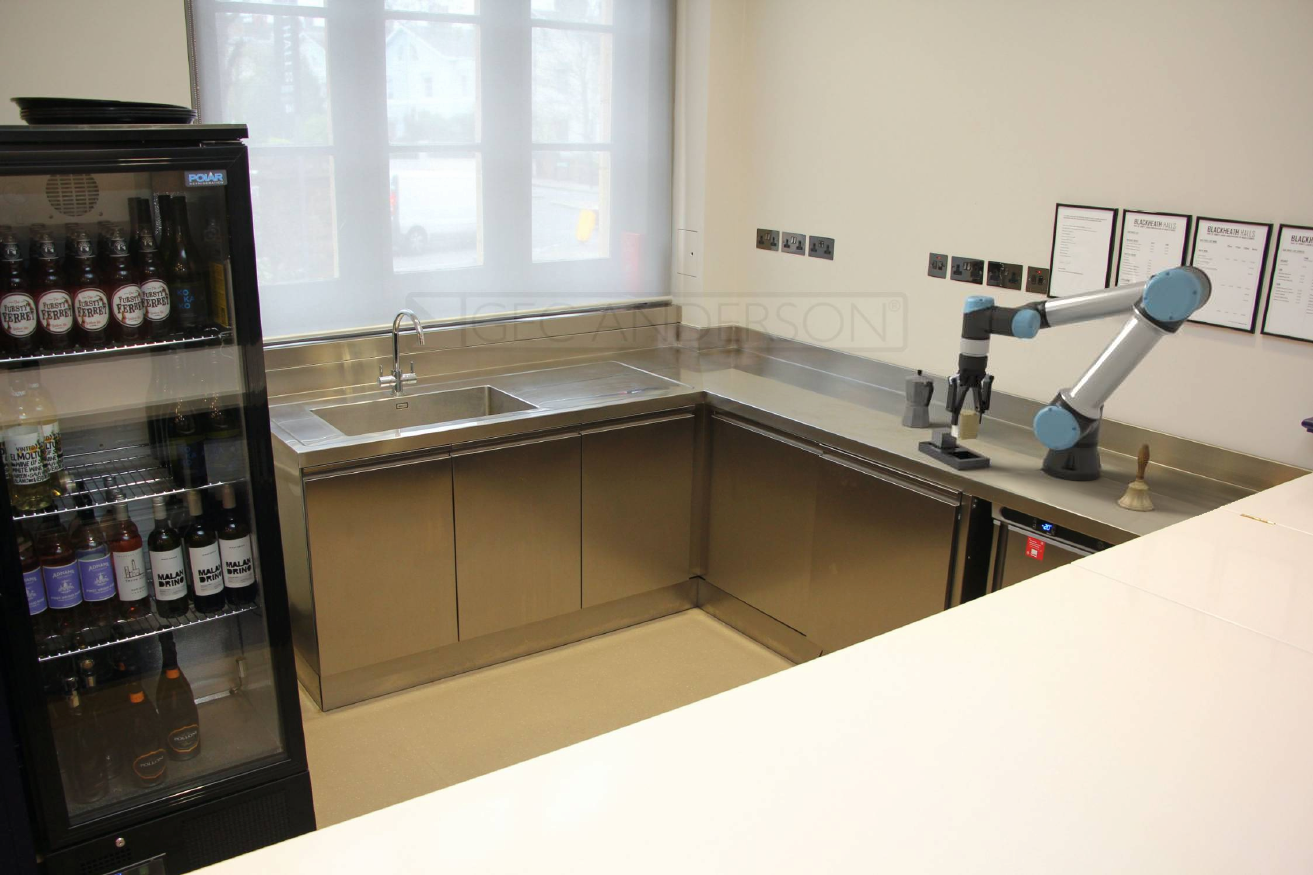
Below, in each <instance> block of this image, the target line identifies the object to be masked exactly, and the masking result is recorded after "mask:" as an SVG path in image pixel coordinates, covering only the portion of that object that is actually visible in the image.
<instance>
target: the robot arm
mask: <svg viewBox="0 0 1313 875" xmlns="http://www.w3.org/2000/svg"><path fill="white" fill-rule="evenodd" d="M1212 292H1213V284H1212V281H1211V278H1210V277H1209V275H1208V273H1207V272H1205V271H1204V270H1203V269H1201V268H1199V267H1196V266H1193V265H1182V266H1181V265H1180V266H1177V267H1174V268H1170V269H1169V268H1168V269H1165V270H1163V271H1161V272H1159V273H1158V274H1152V275H1150V276H1149V277H1148V279H1147V280H1142V281H1136V282H1132V283H1127V284H1122V285H1117V286H1112V287H1107V288H1106V287H1105V288H1101V289H1096V290H1091V291H1085V292H1080V293H1075V294H1069V295H1065V296H1059V297H1055V298H1049V299H1046V300H1039V301H1037V300H1036V301H1035V300H1034V301H1031V302H1027V303H1026V304H1023V305H1019V306H1016V307H1006V306H1000V305H999V306H998V305H996V303H995V299H994V298H993V297H991V296H987V295H970V296H968V297H967V298H966V299H965V302H964V309H963V312H962V315H963V316H962V324H961V326H962V328H961V336H960V345H959V351H960V353H959V354H958V363H957V364H958V371H957V373H956V374H955V375H953V376H951V375H949V376H947V383H948V388H947V389H948V390H947V397H946V406H945V411H947V412H949V413H951V423H950V424H951V426H952V425H953V429H952V428H951V429H952V436H954V437H956V438H957V439H959V438H960V431H961V422H962V415H961V414H960V412H961V410H963V409H962V408H963V406H964V402H965V400H966V396H967V393H968V392H969V390H970V388H971V390H972V398H973V407H974V410H973V411H974V412H976V413H978V414H980V417H979V425H981V424H982V419H983V418H982V416H983V415H984V414H986V411H989V410H990V406H991V395H992V389H993V388H992V387H993V382H994V380H995V376H994V375H993V374H989V373H987V372H986V369H987V367H988V360H989V356H988V354H989V352H990V343H991V335H996V336H997V335H998V336H1004V337H1011V338H1016V339H1021V340H1022V339H1026V340H1027V339H1028V340H1030V339H1034V338H1035V337H1036V336H1037V334H1038V332H1040V330H1045V329H1050V328H1055V327H1061V326H1066V325H1074V324H1078V323H1083V322H1084V323H1085V322H1090V321H1096V320H1102V319H1107V318H1113V317H1118V316H1119V317H1120V316H1124V315H1130V314H1131V315H1132V314H1133V315H1132V316H1131V317H1130V318H1129V319H1128V320H1127V322H1126V323H1125V324H1124V325H1123V326H1122V327H1121V328H1120V330H1119V331H1118V332H1117V333H1116V334H1115V336H1114V337H1112V339H1111V340H1110V341H1109V342H1108V344H1107V345H1106V346H1105V347H1104V348H1103V350H1102V351H1101V352H1100V353H1099V354H1098V356H1097V357H1096V358H1095V359H1094V360H1093V361H1092V363H1091V364H1090V365H1089V366H1088V367H1087V368H1086V370H1085V371H1083V373H1082V374H1081V376H1080V377H1079V378H1078V379H1077V380H1076V381H1075V382H1074V384H1073V385H1072V386H1070V387H1063V388H1060V389H1059V390H1058V392H1057V394H1056V395H1055V396H1054V397H1053V399H1052V400H1051V401H1050V402H1049V403H1048V405H1046V407H1043V408H1041V409H1040V410H1038V413H1037V414H1036V416H1035V418H1034V419H1033V426H1032V427H1033V432H1034V435H1035V437H1036V438H1037V440H1038V441H1039V442H1040V443H1041V445H1043V446H1045V447H1046V448H1048V451H1047V453H1046V455H1045V457H1044V458H1043V460H1042V464H1041V470H1042V472H1044V473H1045V474H1047V475H1049V476H1052V477H1055V478H1060V479H1064V480H1072V481H1094V480H1097V479H1099V478H1101V476H1102V470H1103V467H1102V464H1101V459H1100V452H1099V449H1098V448H1099V440H1100V435H1101V434H1100V433H1101V427H1102V425H1101V424H1102V420H1103V411H1104V407H1105V403H1106V402H1107V401H1108V399H1109V398H1110V397H1111V396H1112V395H1113V394H1114V393H1115V391H1116V390H1117V389H1118V388H1119V387H1120V385H1122V384H1123V383H1124V381H1126V379H1127V378H1128V377H1129V376H1130V374H1131V373H1133V371H1134V370H1135V369H1136V368H1137V366H1139V364H1141V362H1142V361H1143V360H1144V359H1145V358H1146V357H1147V356H1148V354H1149V353H1150V352H1151V351H1152V350H1153V349H1154V347H1155V346H1156V345H1157V344H1158V343H1159V342H1160V341H1161V340H1162V339H1163V337H1164V336H1168V335H1175V334H1176V333H1177V332H1178V331H1179V329H1180V328H1181V327H1182V326H1183V325H1184V324H1185V323H1186V322H1187V320H1188V319H1189V318H1190V317H1191V316H1192V315H1193V314H1194V313H1195V312H1197V311H1199V310H1200V309H1202V308H1203V307H1204V306H1205V305H1206V304H1207V303H1208V301H1209V300H1210V298H1211V296H1212ZM979 425H978V429H980V428H979ZM978 434H979V432H978V433H977V437H978V436H979V435H978Z"/></svg>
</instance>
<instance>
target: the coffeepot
mask: <svg viewBox="0 0 1313 875" xmlns="http://www.w3.org/2000/svg"><path fill="white" fill-rule="evenodd" d="M922 374H923V369H917V374H915V375H913V374H912V375H907V376H905V377H904V388H905V389H904V390H905V399H906V403H905V405H904V409H903V414H902V417H901V425H902V426H904V427H906V428H913V429H925V428H928V427H930V426H931V423H930V412H929V406H930V404H931V401H932V397H933V395H934V391H935V387H934V383H935V382H934V381H935V380H934V378H933V377H929V376H925V375H922Z"/></svg>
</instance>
